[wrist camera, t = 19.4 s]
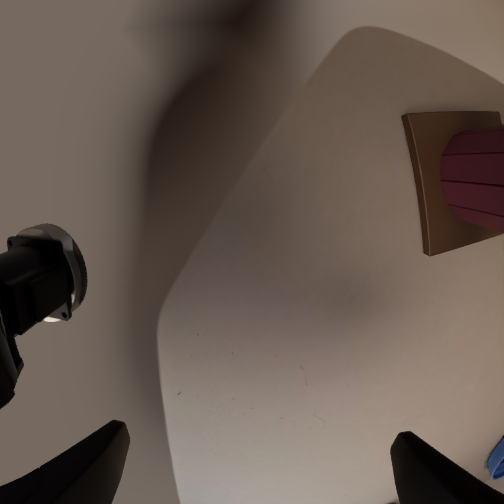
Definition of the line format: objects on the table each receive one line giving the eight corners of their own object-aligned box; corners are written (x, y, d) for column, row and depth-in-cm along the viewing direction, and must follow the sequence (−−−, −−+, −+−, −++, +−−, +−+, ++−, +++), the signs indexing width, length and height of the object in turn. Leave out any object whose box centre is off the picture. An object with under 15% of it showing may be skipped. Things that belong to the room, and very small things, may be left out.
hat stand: (423, 253, 19) (471, 279, 13) (400, 115, 17) (449, 98, 11) (507, 228, 19) (554, 243, 13) (492, 112, 16) (540, 104, 10)
